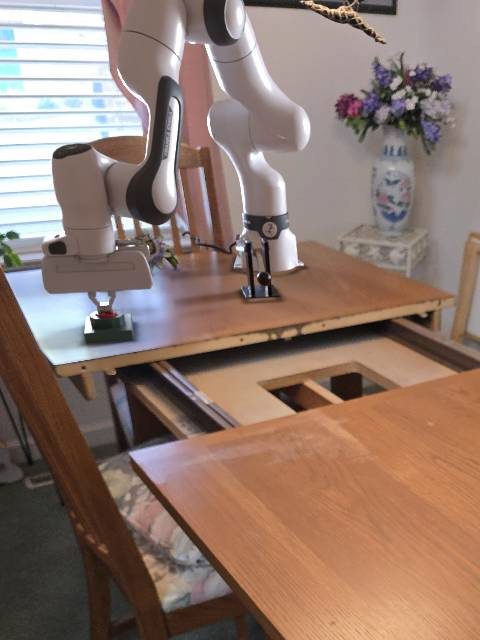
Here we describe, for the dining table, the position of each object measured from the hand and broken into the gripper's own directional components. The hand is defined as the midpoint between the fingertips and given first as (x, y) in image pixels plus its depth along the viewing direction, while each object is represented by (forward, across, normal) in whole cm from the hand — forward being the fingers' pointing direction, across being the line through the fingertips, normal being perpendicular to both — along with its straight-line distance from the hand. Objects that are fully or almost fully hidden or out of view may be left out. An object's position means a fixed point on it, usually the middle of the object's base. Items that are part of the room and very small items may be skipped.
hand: (106, 312), depth 144 cm
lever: (-3, -34, -16) cm, 38 cm away
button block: (+4, 0, 0) cm, 4 cm away
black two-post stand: (+4, -34, -20) cm, 40 cm away
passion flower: (+4, -10, -48) cm, 49 cm away
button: (+2, 0, 0) cm, 2 cm away
